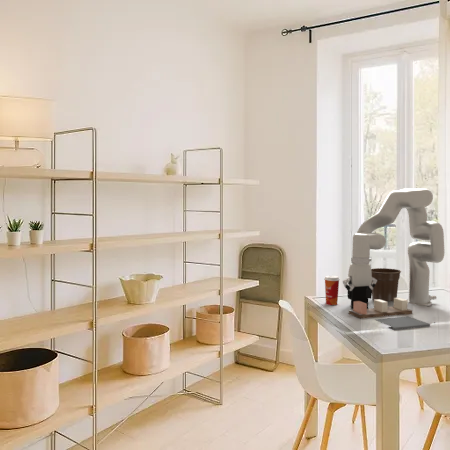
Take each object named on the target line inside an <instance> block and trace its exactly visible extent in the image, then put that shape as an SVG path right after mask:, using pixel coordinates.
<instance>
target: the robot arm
mask: <svg viewBox="0 0 450 450" xmlns="http://www.w3.org/2000/svg"><path fill="white" fill-rule="evenodd" d="M433 199H434V197H433V192H432V191H431V190H430V189H428V188H402V189H399V190H396V189H395V190H391V191H390V192H389V193H388V195H387V196H386V197H385V200H384V201H383V204H382V205H381V206H380V209H379V210H378V212H377V213H375V214H373V215H372V216H370V217H369V218H367V219H366V220H365V221H363V222H362V224H361V225H360V226H359V228H358V229H357V231H356V233H355V234H353V236H352V251H351V252H352V254H351V256H352V257H351V258H352V261H351V263H350V264H349V267H348V268H349V269H348V274H347V275H348V276H347V278H345V279H343V280H342V284H343V286H344V288H345V289H346V291H347V299H348V300H350V301H351V300H353V291H352V290H353V288H354V287H359V286H366V287H367V288H368V289H366V297H367V298H368V300H369V299H370V300H371V299H372V290H373V288H374V287H375V284H376V282H377V280H376V279H375V278H373V277H372V272H371V269H372V267H371V264H370V263H371V262H372V258H370V252H371V250H378V251H379V250H381V249H383V248H384V247H385V246H386V242H387V241H386V237H385V236H384V235H383V234H382V233H378V232H374V231H375V230H378V229H380V228H383V227H387V226H389V225H392V224H394V222H395V221H396V219H397V218H398V216H399V214H400V212H401V211H402V210H403V209H405V210H406V211H407V214H408V224H409V225H408V226H409V235H410V238H412V239H413V240H419V241H414V242H412V243H410V244H408V245H409V246H408V247H407V255H408V262H409V264H408V265H409V266H408V267H409V270H408V272H409V273H408V277H409V278H408V298H407V300H408V304H411V305H417V306H425V307H430V306H432V305H433V302H432V300H437V295H430V267H429V265H428V263H436V264H439V263H441V262H442V261H443V260H444V257H445V235H444V229H443V226H442V224H441V223H439V222H438V221H430V220H428V214H427V208H426V207H428V206H430V205H431V204H432V202H433ZM425 241H426V242H425ZM372 281H373V282H372Z"/></svg>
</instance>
